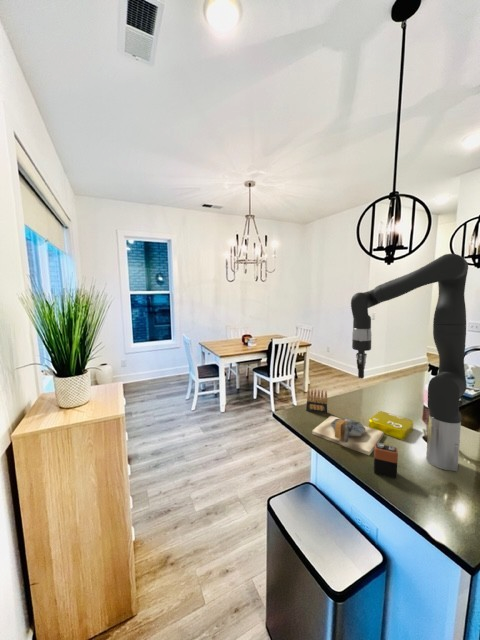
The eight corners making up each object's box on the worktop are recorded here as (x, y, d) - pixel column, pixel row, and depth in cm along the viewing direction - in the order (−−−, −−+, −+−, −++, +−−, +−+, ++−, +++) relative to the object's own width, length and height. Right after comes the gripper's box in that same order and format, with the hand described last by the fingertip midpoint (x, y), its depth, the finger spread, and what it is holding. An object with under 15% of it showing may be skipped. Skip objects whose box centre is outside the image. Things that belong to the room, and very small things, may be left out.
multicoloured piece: (339, 418, 126) (339, 406, 126) (368, 427, 118) (368, 414, 117) (322, 432, 114) (322, 419, 113) (353, 443, 105) (354, 429, 104)
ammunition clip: (306, 410, 142) (306, 388, 141) (306, 409, 144) (306, 387, 143) (327, 413, 138) (327, 391, 137) (327, 412, 140) (327, 390, 139)
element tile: (414, 429, 123) (414, 419, 122) (403, 441, 113) (404, 430, 112) (379, 418, 134) (379, 409, 133) (367, 428, 124) (367, 418, 123)
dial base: (383, 435, 117) (384, 417, 116) (369, 455, 102) (370, 435, 101) (330, 418, 133) (331, 403, 132) (311, 434, 118) (312, 416, 117)
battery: (373, 466, 96) (374, 440, 95) (395, 471, 93) (396, 444, 92) (373, 474, 92) (375, 446, 91) (396, 479, 89) (398, 451, 88)
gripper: (354, 336, 123) (353, 373, 125) (350, 340, 112) (349, 380, 113) (372, 337, 120) (371, 375, 121) (370, 341, 108) (369, 383, 109)
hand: (361, 377), depth 117 cm, fingers closed
